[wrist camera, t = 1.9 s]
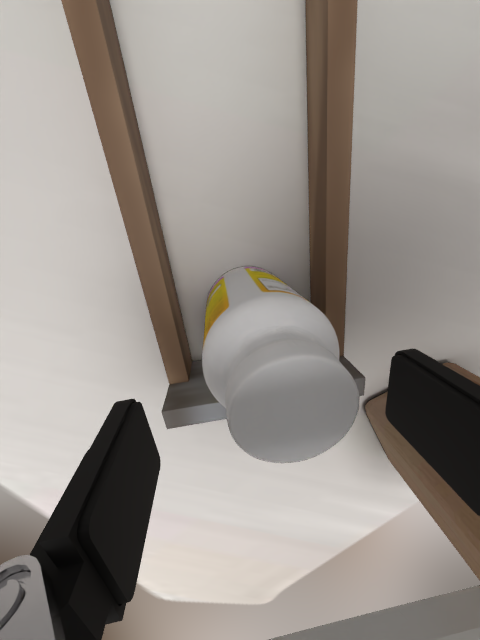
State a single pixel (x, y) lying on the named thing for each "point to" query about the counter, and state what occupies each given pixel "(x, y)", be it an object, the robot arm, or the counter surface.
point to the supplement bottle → (275, 368)
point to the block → (430, 481)
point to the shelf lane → (140, 207)
